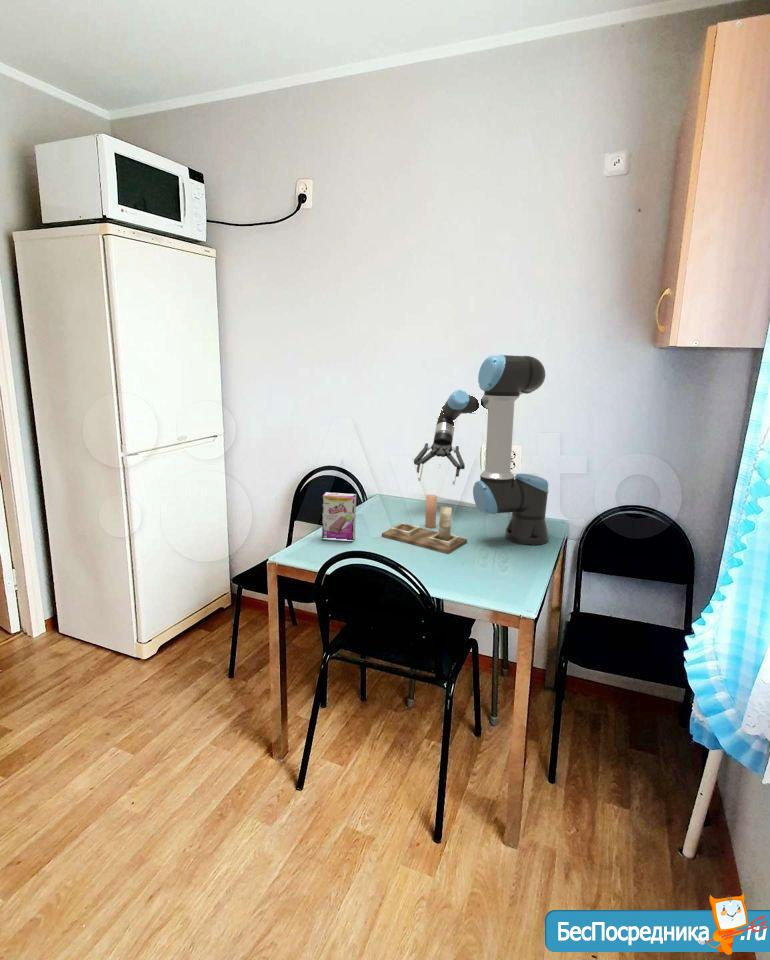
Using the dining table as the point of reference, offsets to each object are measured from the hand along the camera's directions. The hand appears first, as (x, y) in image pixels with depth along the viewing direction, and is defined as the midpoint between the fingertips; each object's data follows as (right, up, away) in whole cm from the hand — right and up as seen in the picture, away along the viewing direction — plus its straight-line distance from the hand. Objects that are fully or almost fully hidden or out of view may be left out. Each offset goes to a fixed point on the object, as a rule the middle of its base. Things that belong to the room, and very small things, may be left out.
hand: (436, 481), depth 219 cm
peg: (-3, -17, -5) cm, 18 cm away
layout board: (-6, -21, -19) cm, 29 cm away
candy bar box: (-36, -21, -22) cm, 47 cm away
